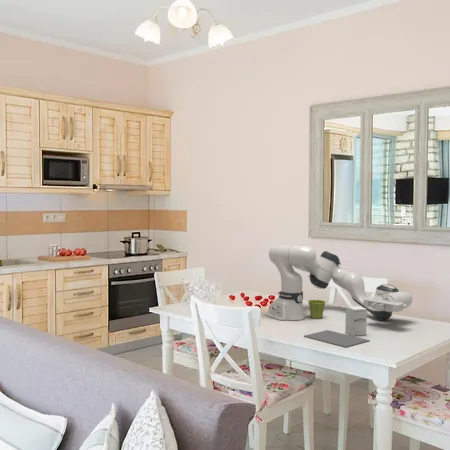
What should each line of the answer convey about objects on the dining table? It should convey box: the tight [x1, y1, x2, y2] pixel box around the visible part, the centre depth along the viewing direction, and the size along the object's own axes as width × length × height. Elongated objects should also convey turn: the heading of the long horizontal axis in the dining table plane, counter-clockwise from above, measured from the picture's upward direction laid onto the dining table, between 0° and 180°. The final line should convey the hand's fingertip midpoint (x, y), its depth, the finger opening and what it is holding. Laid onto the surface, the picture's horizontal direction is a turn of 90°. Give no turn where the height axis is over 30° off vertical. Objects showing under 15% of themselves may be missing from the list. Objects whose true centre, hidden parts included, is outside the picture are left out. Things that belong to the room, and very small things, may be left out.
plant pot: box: [307, 299, 327, 319], centre depth 294 cm, size 9×9×9 cm
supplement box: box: [344, 305, 368, 337], centre depth 259 cm, size 7×7×13 cm
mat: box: [303, 329, 371, 349], centre depth 250 cm, size 24×17×1 cm
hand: (374, 306), depth 267 cm, fingers closed
